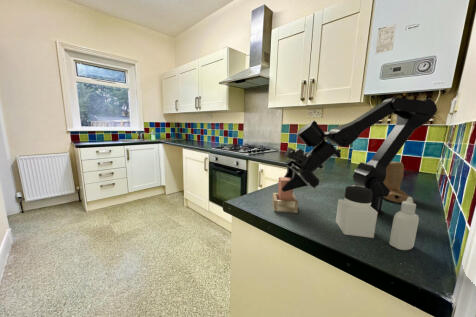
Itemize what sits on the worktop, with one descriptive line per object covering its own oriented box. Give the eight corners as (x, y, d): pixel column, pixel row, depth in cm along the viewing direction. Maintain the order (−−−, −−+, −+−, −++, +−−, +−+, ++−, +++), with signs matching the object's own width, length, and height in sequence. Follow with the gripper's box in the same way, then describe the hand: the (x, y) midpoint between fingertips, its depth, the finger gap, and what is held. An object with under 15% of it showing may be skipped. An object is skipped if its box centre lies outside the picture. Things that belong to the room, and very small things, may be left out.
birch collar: (293, 203, 69) (294, 194, 68) (297, 212, 61) (298, 202, 60) (272, 202, 69) (272, 192, 69) (273, 210, 62) (274, 200, 61)
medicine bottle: (374, 238, 48) (381, 193, 46) (343, 234, 49) (349, 190, 47) (362, 224, 54) (367, 184, 53) (335, 221, 56) (340, 182, 54)
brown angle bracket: (368, 189, 88) (373, 157, 85) (401, 194, 83) (407, 160, 80) (374, 200, 74) (380, 162, 72) (414, 206, 69) (421, 166, 67)
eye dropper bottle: (382, 238, 48) (390, 193, 46) (408, 241, 47) (417, 195, 45) (393, 249, 43) (402, 199, 41) (421, 253, 42) (432, 202, 40)
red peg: (288, 204, 67) (290, 177, 66) (291, 209, 63) (293, 180, 62) (276, 204, 67) (278, 177, 66) (279, 209, 63) (281, 180, 62)
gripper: (292, 137, 71) (261, 165, 72) (312, 141, 52) (269, 179, 54) (311, 159, 72) (280, 186, 74) (337, 170, 54) (295, 206, 55)
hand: (281, 188), depth 64 cm, fingers closed on red peg, 4 cm apart
